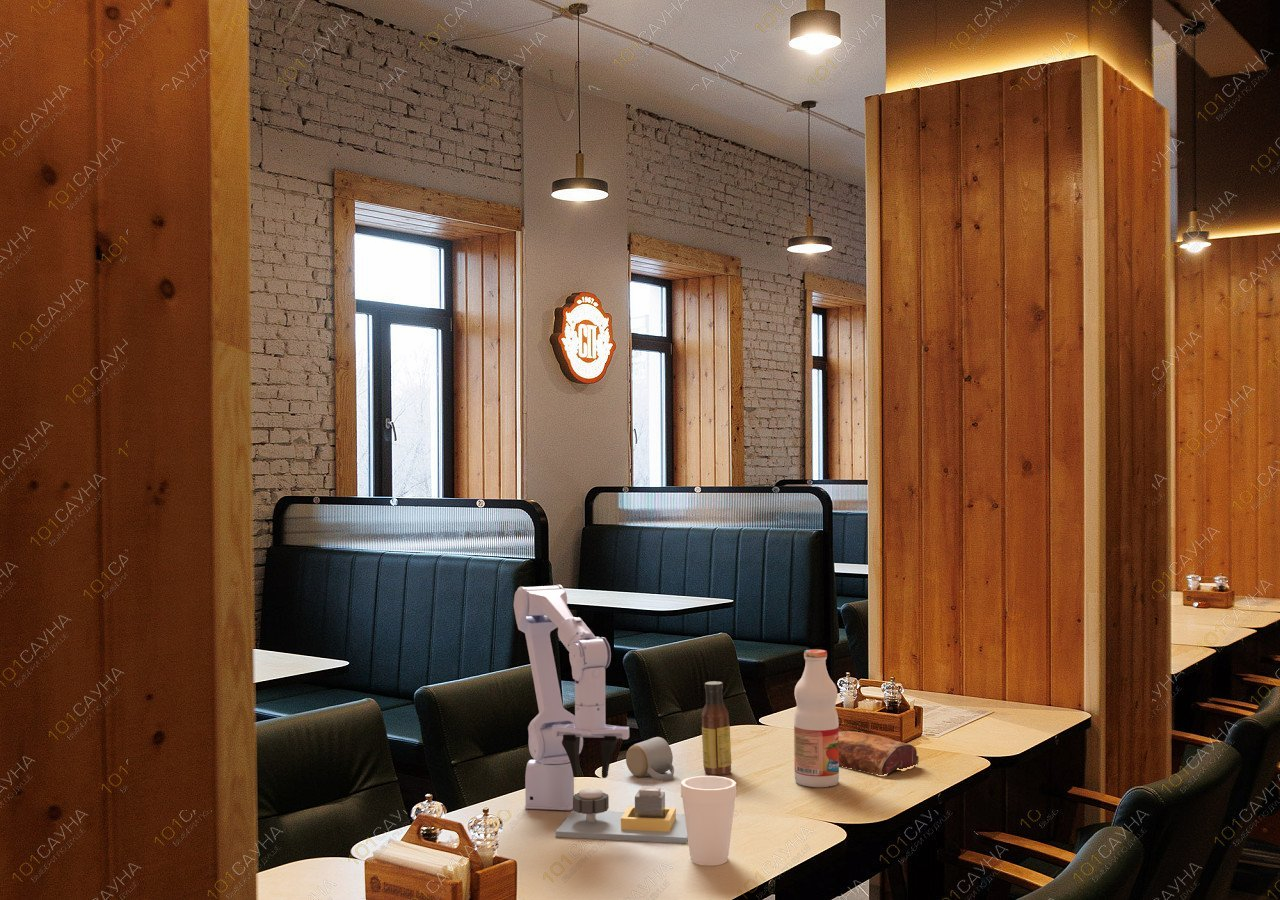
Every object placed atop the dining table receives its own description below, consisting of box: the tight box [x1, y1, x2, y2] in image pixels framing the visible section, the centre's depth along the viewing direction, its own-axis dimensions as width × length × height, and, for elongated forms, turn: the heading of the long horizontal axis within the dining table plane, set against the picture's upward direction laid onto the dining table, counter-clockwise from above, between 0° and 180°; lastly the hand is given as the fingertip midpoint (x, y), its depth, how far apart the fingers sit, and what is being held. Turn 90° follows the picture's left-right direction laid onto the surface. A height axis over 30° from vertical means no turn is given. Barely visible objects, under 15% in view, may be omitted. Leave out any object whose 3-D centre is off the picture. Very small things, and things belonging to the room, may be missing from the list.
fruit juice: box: [793, 649, 840, 788], centre depth 246 cm, size 9×9×28 cm
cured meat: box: [838, 730, 920, 775], centre depth 265 cm, size 18×25×7 cm
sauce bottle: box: [700, 680, 733, 776], centre depth 255 cm, size 7×6×20 cm
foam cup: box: [680, 775, 738, 867], centre depth 197 cm, size 10×9×13 cm
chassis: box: [555, 805, 688, 844], centre depth 214 cm, size 24×14×3 cm, turn 80°
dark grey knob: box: [572, 788, 610, 814], centre depth 216 cm, size 6×6×3 cm
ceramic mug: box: [625, 736, 675, 781], centre depth 252 cm, size 11×8×8 cm
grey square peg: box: [634, 786, 666, 819], centre depth 214 cm, size 5×4×6 cm
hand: (590, 776), depth 216 cm, fingers open, 5 cm apart
